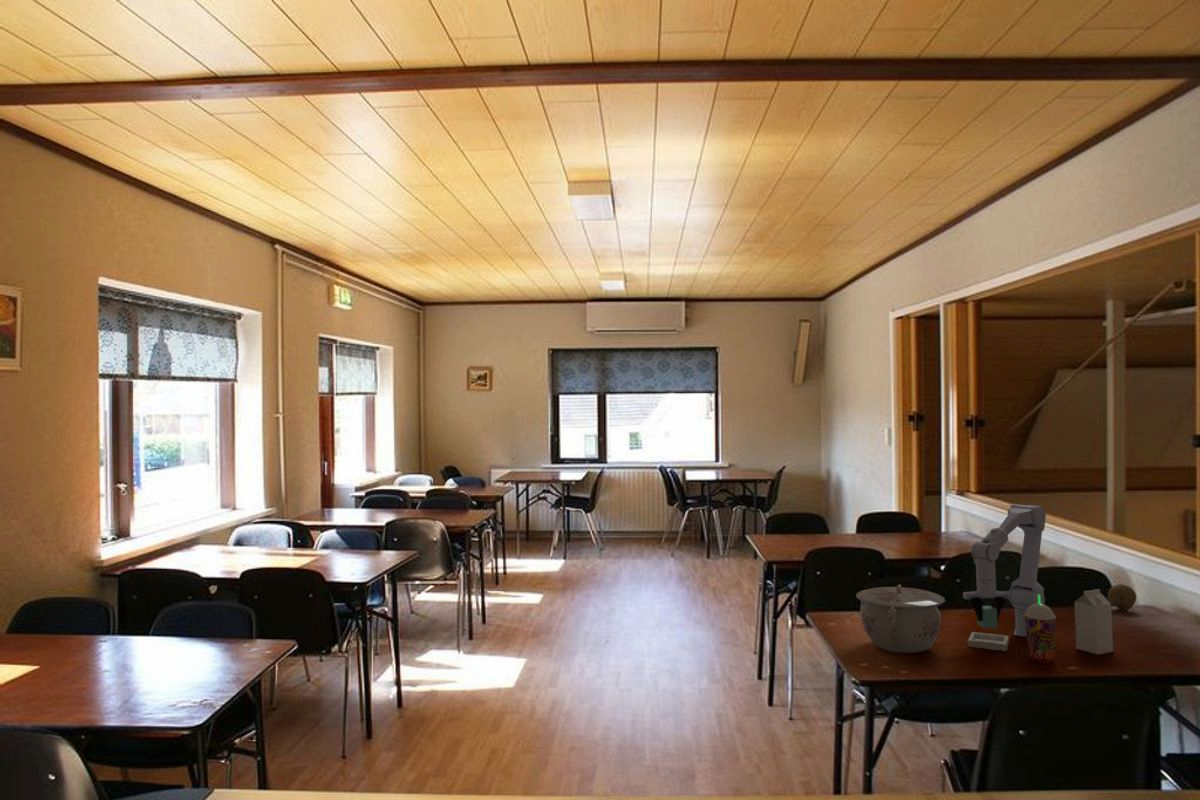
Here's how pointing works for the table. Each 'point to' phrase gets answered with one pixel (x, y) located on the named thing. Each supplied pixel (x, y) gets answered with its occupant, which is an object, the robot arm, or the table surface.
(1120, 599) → the brown coconut
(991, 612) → the block
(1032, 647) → the smoothie
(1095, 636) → the milk carton
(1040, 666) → the table surface
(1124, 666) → the table surface
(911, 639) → the chamber pot
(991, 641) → the tray
